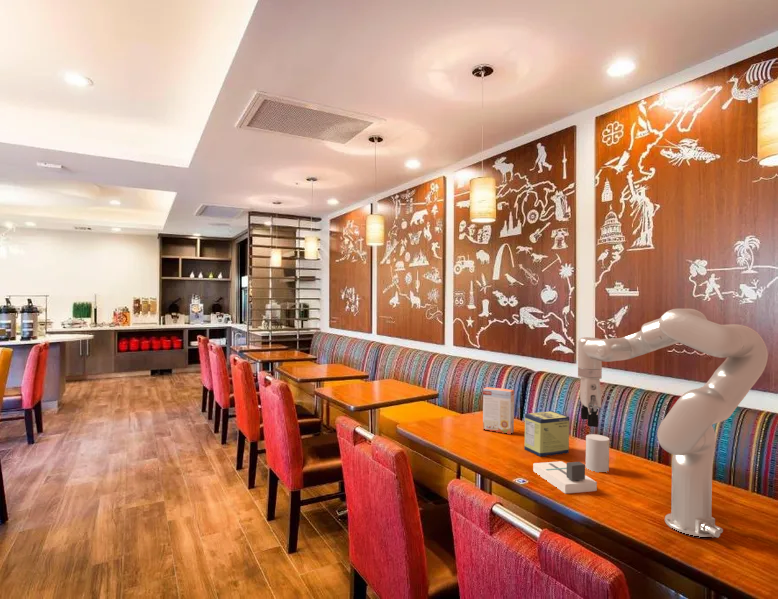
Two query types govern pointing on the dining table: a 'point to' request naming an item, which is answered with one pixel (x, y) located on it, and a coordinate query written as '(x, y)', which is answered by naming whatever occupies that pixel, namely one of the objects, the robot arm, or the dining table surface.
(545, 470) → the fader console
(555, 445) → the protein box
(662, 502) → the dining table surface
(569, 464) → the fader knob
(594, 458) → the white cylinder
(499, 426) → the cracker box
